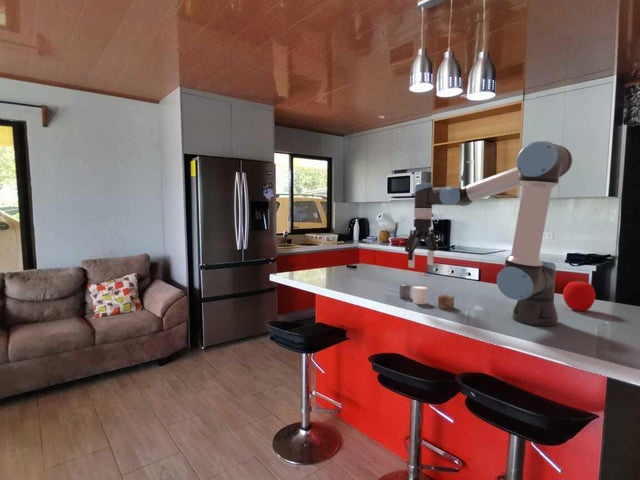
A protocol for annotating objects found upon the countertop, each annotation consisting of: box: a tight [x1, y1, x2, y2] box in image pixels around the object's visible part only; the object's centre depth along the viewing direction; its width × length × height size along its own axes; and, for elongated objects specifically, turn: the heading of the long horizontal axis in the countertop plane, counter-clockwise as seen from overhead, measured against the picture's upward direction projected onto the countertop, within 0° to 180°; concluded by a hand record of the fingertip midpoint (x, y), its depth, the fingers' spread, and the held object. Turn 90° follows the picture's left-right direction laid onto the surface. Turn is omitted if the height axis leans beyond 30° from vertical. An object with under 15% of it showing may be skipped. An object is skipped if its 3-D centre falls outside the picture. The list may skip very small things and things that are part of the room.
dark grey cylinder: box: [398, 283, 411, 300], centre depth 176 cm, size 5×5×6 cm
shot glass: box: [412, 285, 429, 305], centre depth 167 cm, size 7×7×7 cm
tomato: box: [562, 280, 597, 312], centre depth 157 cm, size 11×11×13 cm
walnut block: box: [437, 294, 455, 311], centre depth 159 cm, size 5×5×5 cm
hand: (420, 266), depth 166 cm, fingers open, 13 cm apart
